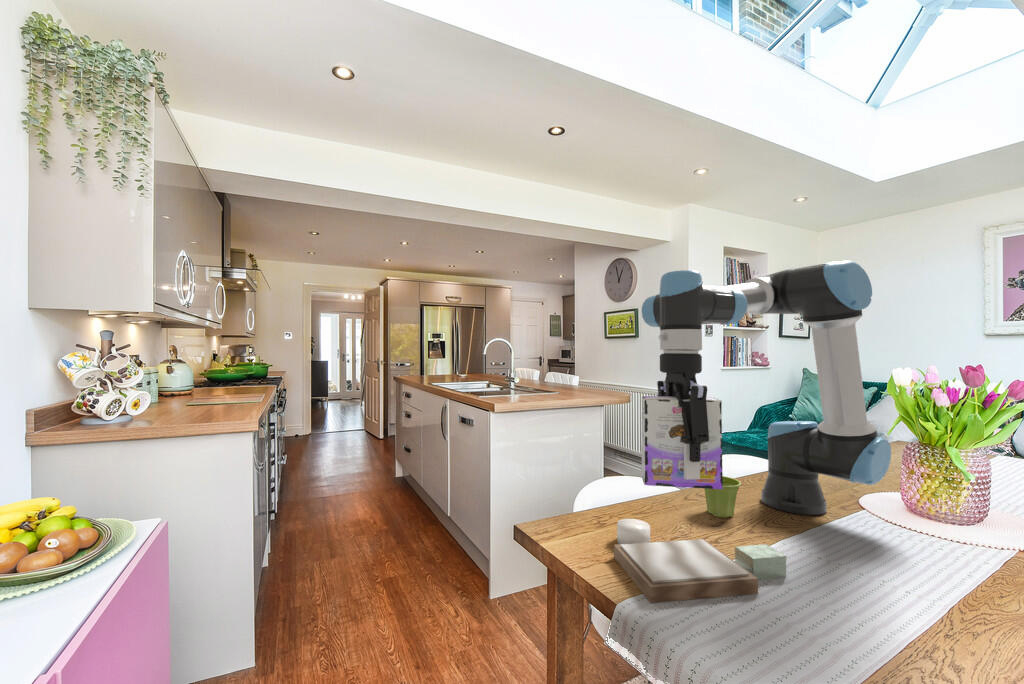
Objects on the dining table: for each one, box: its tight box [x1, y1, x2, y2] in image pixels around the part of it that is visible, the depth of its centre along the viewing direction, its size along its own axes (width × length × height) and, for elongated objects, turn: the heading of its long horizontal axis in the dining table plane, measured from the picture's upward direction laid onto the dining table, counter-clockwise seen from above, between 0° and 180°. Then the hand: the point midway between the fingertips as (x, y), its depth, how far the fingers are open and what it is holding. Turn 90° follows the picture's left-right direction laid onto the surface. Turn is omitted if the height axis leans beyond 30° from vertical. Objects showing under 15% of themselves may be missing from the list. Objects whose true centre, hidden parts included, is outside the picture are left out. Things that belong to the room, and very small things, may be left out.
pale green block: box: [734, 543, 787, 580], centre depth 83 cm, size 7×5×4 cm
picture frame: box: [613, 538, 759, 604], centre depth 82 cm, size 20×16×3 cm
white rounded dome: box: [616, 518, 651, 544], centre depth 95 cm, size 7×7×4 cm
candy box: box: [641, 395, 724, 489], centre depth 82 cm, size 14×6×16 cm, turn 79°
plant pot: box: [703, 475, 742, 519], centre depth 112 cm, size 9×9×9 cm
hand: (680, 472), depth 82 cm, fingers closed on candy box, 7 cm apart
